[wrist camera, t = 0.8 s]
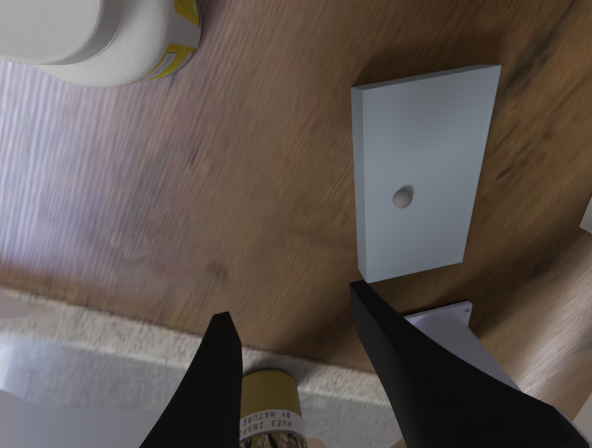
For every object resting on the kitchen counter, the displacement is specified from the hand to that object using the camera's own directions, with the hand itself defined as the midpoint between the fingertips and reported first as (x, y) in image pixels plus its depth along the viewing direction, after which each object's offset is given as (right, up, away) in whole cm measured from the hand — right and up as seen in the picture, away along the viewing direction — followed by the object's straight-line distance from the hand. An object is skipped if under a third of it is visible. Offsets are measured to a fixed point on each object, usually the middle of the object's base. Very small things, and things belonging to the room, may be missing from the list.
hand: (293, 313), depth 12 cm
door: (+8, +7, +9) cm, 14 cm away
